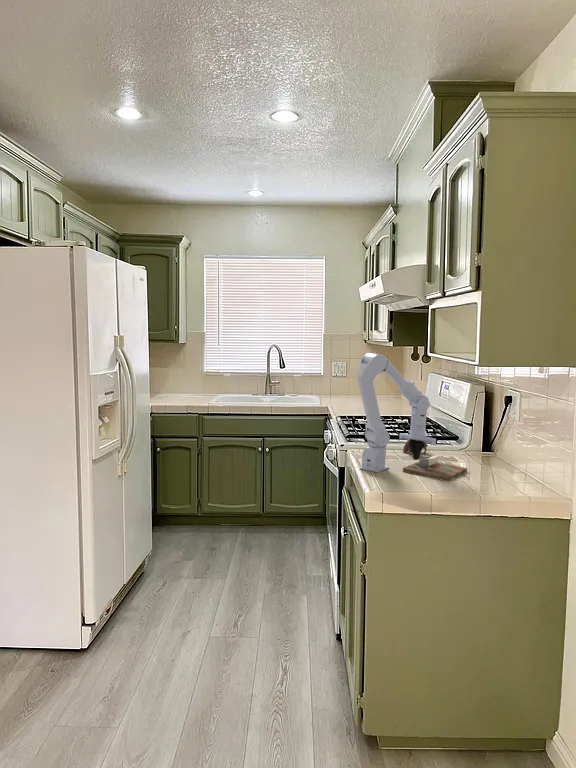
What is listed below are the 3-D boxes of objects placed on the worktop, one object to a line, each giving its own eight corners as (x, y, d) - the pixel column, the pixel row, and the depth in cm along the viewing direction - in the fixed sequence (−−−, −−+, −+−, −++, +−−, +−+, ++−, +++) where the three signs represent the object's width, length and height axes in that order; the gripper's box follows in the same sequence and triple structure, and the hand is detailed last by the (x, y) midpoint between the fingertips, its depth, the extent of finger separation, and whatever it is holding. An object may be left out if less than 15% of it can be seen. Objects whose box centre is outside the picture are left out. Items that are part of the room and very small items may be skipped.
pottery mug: (403, 450, 254) (413, 435, 253) (421, 462, 250) (431, 447, 249) (398, 448, 243) (408, 432, 242) (416, 461, 239) (427, 445, 238)
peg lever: (425, 468, 212) (426, 460, 212) (417, 467, 215) (417, 459, 214) (440, 462, 223) (441, 455, 222) (431, 461, 225) (432, 453, 225)
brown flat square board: (448, 481, 204) (448, 476, 204) (402, 471, 215) (402, 467, 215) (467, 471, 218) (467, 467, 218) (423, 463, 229) (423, 459, 229)
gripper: (440, 426, 220) (437, 460, 222) (405, 421, 229) (403, 454, 231) (432, 428, 215) (430, 463, 216) (397, 423, 224) (395, 457, 225)
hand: (416, 459), depth 223 cm, fingers closed
